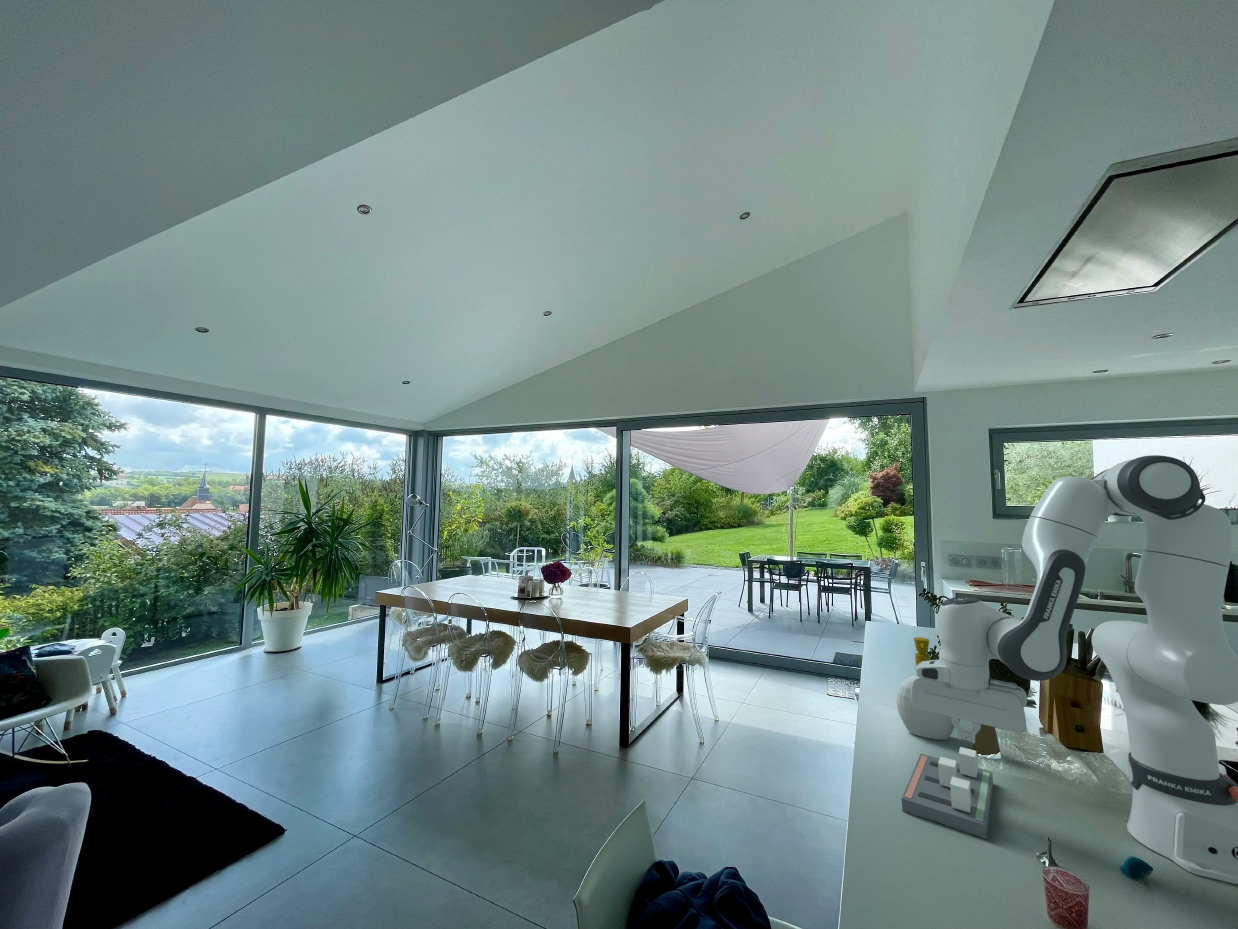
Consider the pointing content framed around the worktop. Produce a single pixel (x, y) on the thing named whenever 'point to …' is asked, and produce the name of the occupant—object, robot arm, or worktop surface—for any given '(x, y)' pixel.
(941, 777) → the switch
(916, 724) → the soap bottle
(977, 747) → the cork
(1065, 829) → the worktop surface
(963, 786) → the switch
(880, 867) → the worktop surface
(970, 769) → the switch
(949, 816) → the switch board
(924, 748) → the worktop surface
